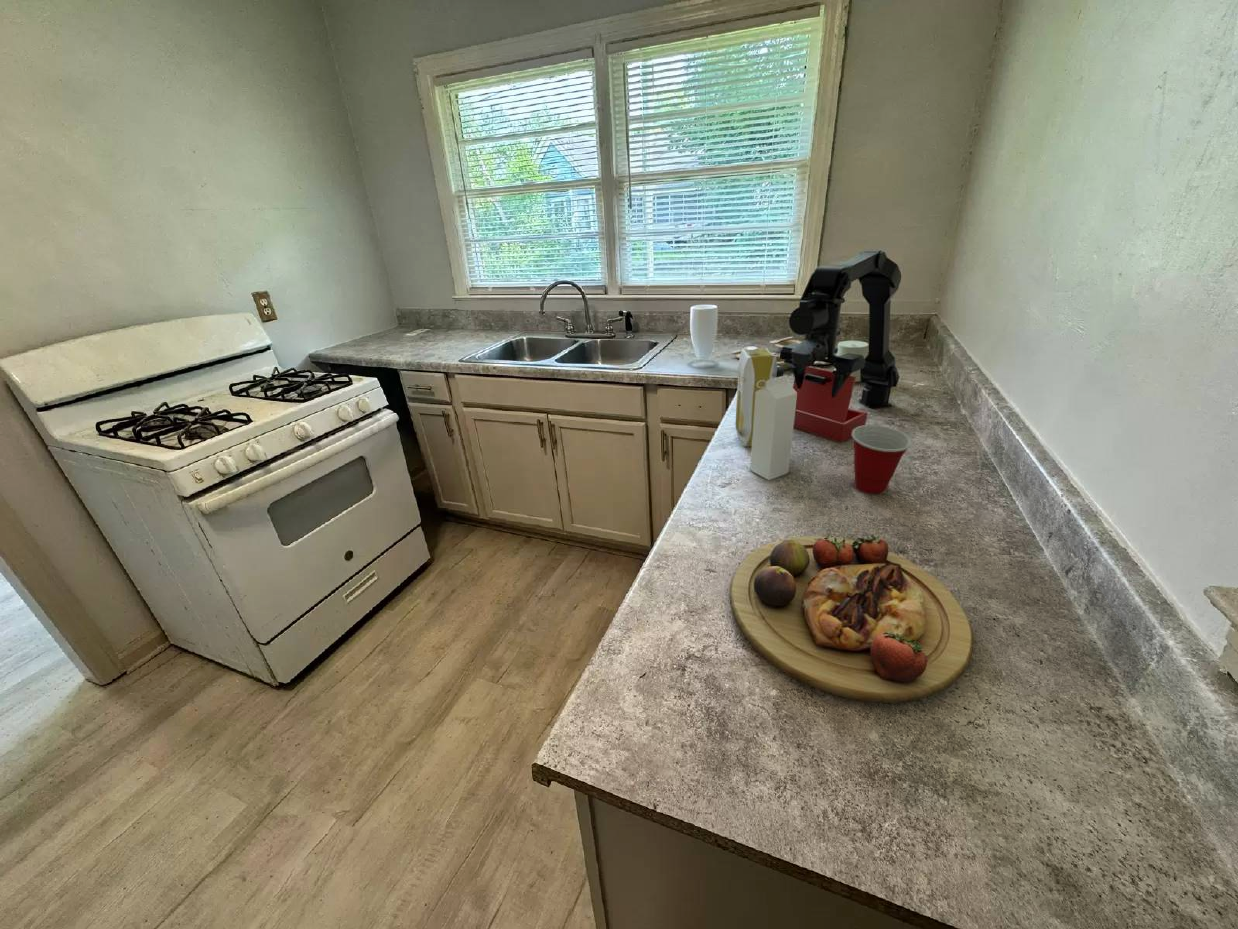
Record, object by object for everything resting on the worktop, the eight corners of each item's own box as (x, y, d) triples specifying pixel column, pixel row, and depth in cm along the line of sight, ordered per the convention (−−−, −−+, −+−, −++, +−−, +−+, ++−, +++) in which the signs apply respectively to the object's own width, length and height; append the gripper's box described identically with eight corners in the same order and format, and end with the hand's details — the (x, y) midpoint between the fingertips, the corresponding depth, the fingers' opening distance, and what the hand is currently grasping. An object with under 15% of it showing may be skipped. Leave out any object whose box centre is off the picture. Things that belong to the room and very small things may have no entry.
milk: (788, 473, 110) (800, 378, 100) (768, 480, 108) (778, 384, 98) (768, 463, 115) (777, 371, 105) (749, 470, 113) (756, 376, 102)
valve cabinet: (811, 415, 139) (813, 398, 137) (864, 430, 128) (867, 413, 126) (787, 425, 134) (789, 408, 132) (841, 442, 122) (843, 424, 120)
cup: (720, 362, 192) (722, 304, 182) (710, 369, 184) (711, 309, 174) (696, 359, 197) (696, 303, 187) (684, 366, 189) (684, 308, 179)
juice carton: (733, 433, 131) (737, 343, 120) (762, 432, 131) (769, 341, 120) (741, 448, 123) (746, 353, 112) (773, 446, 122) (781, 351, 112)
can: (832, 381, 163) (837, 345, 158) (833, 373, 171) (838, 338, 166) (863, 383, 160) (869, 346, 155) (862, 374, 168) (868, 339, 162)
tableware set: (725, 355, 200) (726, 345, 198) (784, 344, 209) (785, 334, 208) (783, 376, 171) (784, 365, 169) (848, 363, 180) (849, 352, 178)
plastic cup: (876, 507, 96) (887, 451, 91) (831, 484, 105) (839, 432, 99) (912, 491, 100) (925, 437, 95) (866, 470, 109) (876, 420, 104)
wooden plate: (1022, 723, 56) (1046, 672, 52) (733, 694, 61) (736, 646, 57) (917, 550, 84) (928, 509, 80) (726, 541, 89) (728, 502, 85)
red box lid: (799, 364, 127) (787, 365, 125) (856, 376, 116) (845, 377, 113) (790, 407, 132) (779, 409, 129) (845, 422, 120) (834, 425, 117)
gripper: (767, 327, 113) (762, 392, 120) (842, 339, 100) (831, 411, 107) (797, 319, 119) (790, 381, 126) (872, 329, 105) (860, 398, 113)
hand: (815, 392), depth 118 cm, fingers open, 9 cm apart
